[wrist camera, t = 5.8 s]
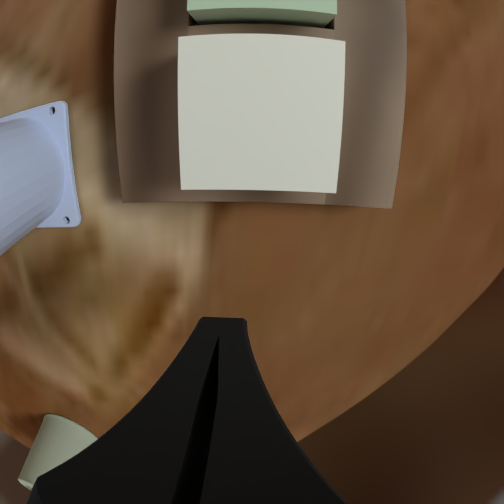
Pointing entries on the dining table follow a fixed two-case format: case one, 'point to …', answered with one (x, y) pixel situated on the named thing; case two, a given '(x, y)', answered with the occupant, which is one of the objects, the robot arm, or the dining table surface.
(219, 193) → the brown tray
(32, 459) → the pale green cup
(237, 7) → the sage button
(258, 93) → the cream button
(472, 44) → the dining table surface
